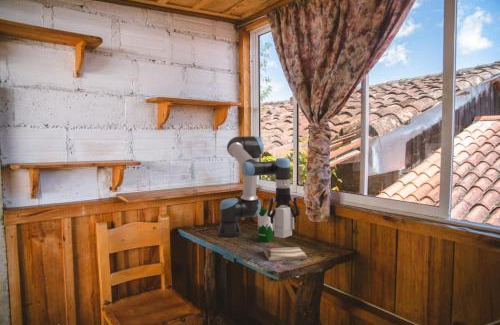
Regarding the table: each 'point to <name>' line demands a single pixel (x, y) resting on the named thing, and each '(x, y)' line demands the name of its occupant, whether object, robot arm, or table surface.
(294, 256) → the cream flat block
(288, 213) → the skincare box
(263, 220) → the milk carton
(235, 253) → the table surface
